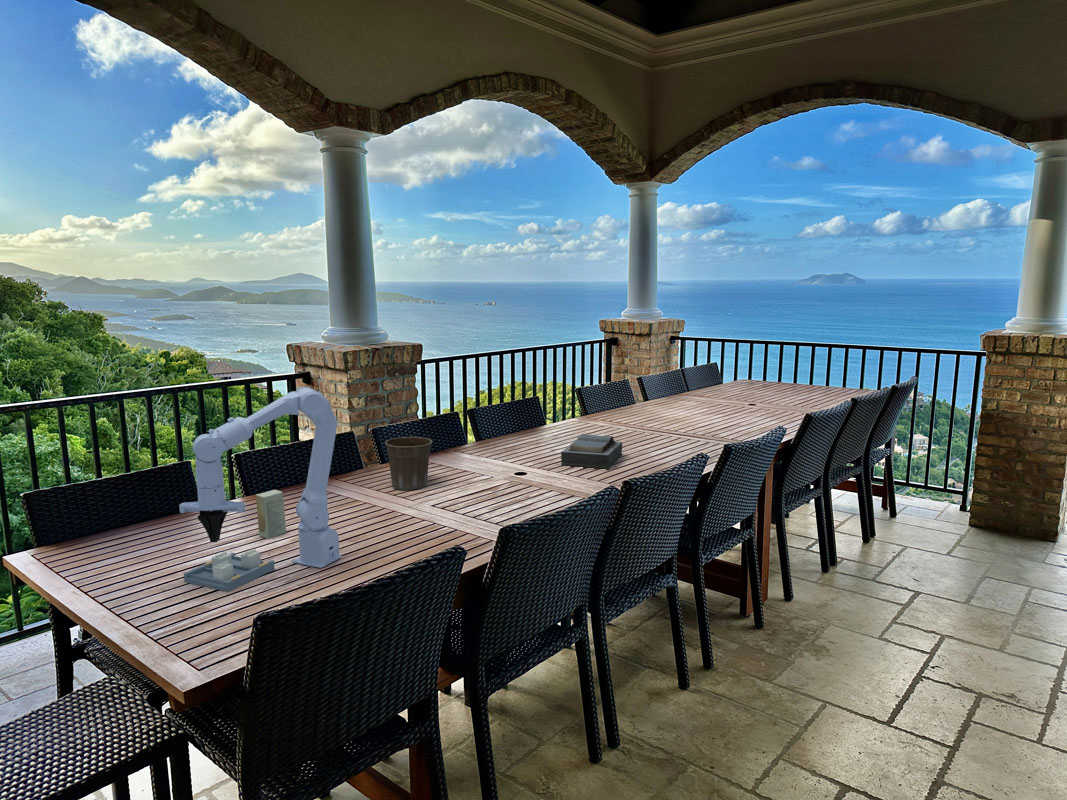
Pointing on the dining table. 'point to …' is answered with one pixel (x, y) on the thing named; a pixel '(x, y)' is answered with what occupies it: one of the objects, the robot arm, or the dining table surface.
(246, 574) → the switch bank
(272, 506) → the skincare box
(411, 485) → the plant pot
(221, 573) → the tab
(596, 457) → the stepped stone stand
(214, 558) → the tab
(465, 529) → the dining table surface
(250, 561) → the tab
